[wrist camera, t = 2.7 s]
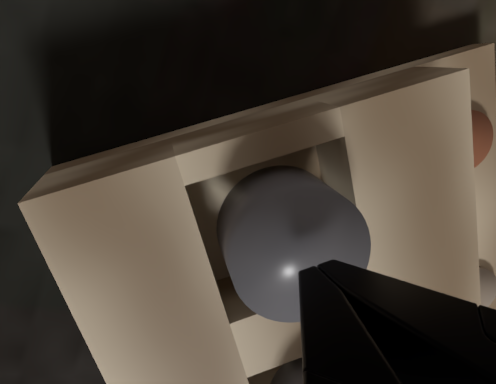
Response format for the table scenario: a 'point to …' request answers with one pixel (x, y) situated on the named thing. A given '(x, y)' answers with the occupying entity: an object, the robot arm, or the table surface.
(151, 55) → the table surface
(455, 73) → the button board
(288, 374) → the button middle
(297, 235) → the button
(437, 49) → the table surface
